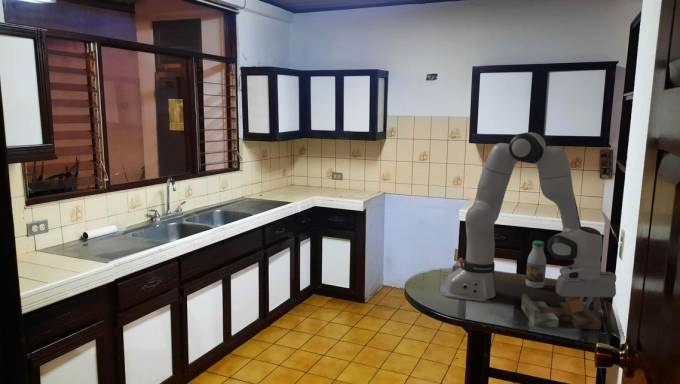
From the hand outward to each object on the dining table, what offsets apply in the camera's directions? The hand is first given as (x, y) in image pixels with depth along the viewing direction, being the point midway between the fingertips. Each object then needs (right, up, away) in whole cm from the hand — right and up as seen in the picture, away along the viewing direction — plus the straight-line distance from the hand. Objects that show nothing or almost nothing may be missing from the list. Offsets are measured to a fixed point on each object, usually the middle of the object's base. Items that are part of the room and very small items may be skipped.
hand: (584, 307), depth 178 cm
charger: (-30, +4, +53) cm, 61 cm away
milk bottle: (-4, +1, +35) cm, 35 cm away
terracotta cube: (-3, -1, 0) cm, 3 cm away
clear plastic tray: (-9, -4, +2) cm, 10 cm away
